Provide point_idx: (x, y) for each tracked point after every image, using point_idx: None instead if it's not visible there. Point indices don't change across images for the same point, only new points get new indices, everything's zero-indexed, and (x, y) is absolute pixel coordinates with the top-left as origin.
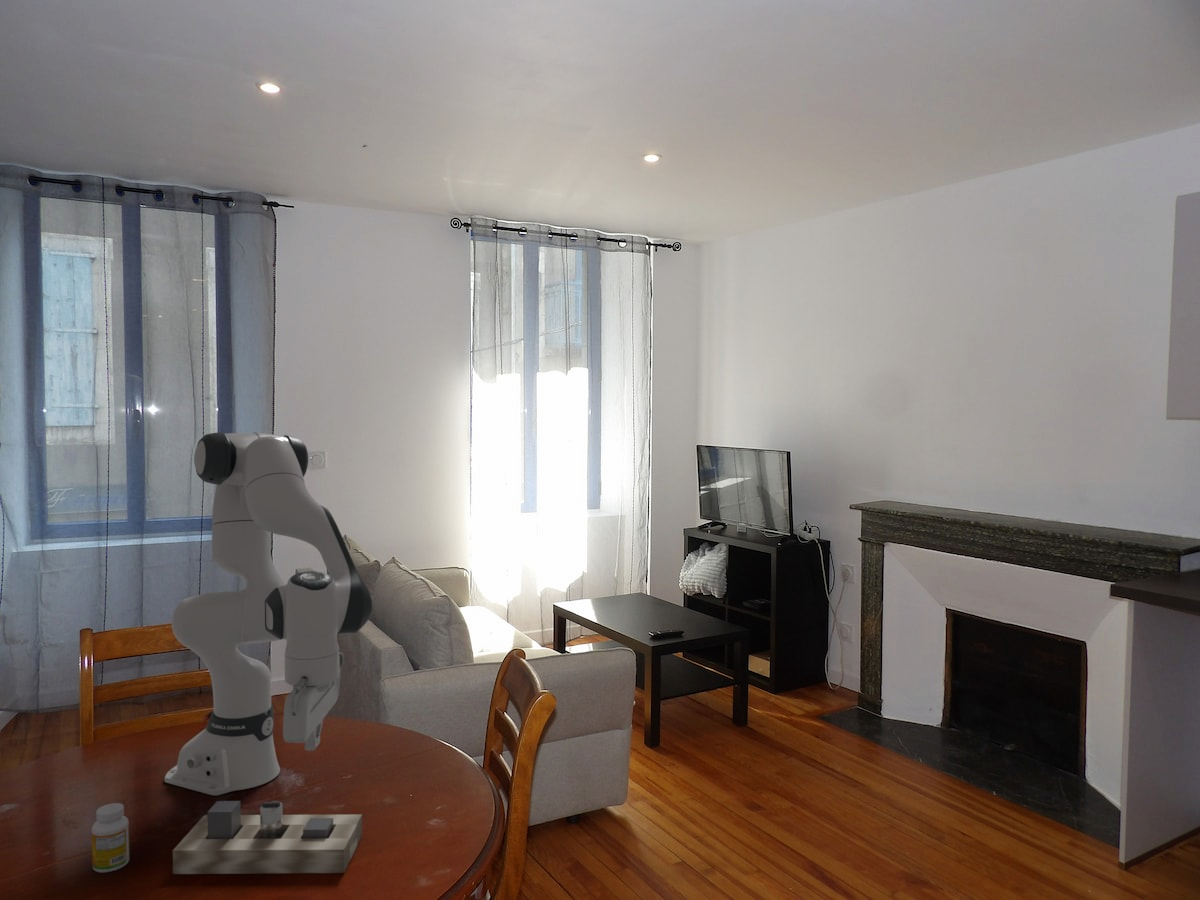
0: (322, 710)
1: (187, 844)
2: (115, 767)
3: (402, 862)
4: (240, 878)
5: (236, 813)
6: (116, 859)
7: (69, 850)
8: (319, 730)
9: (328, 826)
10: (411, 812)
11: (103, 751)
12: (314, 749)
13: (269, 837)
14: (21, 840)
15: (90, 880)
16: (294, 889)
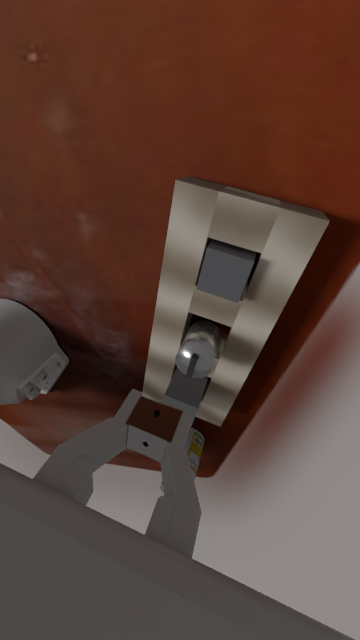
0: (67, 628)
1: (210, 415)
2: (31, 413)
3: (344, 55)
4: (263, 353)
5: (183, 391)
6: (200, 444)
7: None
8: (109, 437)
9: (241, 258)
10: (106, 48)
11: (9, 415)
12: (193, 415)
13: (220, 340)
14: (139, 464)
15: (213, 447)
16: (334, 294)
